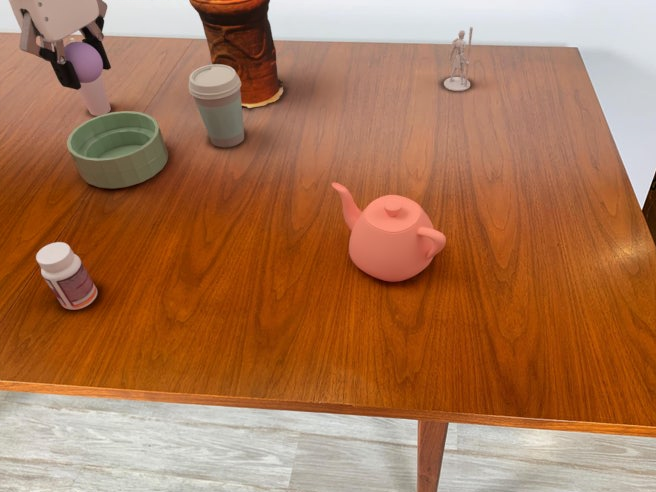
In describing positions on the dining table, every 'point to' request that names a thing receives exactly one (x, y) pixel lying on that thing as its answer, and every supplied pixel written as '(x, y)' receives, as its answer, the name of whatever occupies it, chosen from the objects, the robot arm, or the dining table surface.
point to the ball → (84, 61)
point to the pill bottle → (66, 276)
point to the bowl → (118, 149)
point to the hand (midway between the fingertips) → (86, 76)
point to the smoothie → (95, 95)
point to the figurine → (459, 64)
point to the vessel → (243, 45)
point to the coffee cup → (219, 103)
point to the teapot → (390, 236)
